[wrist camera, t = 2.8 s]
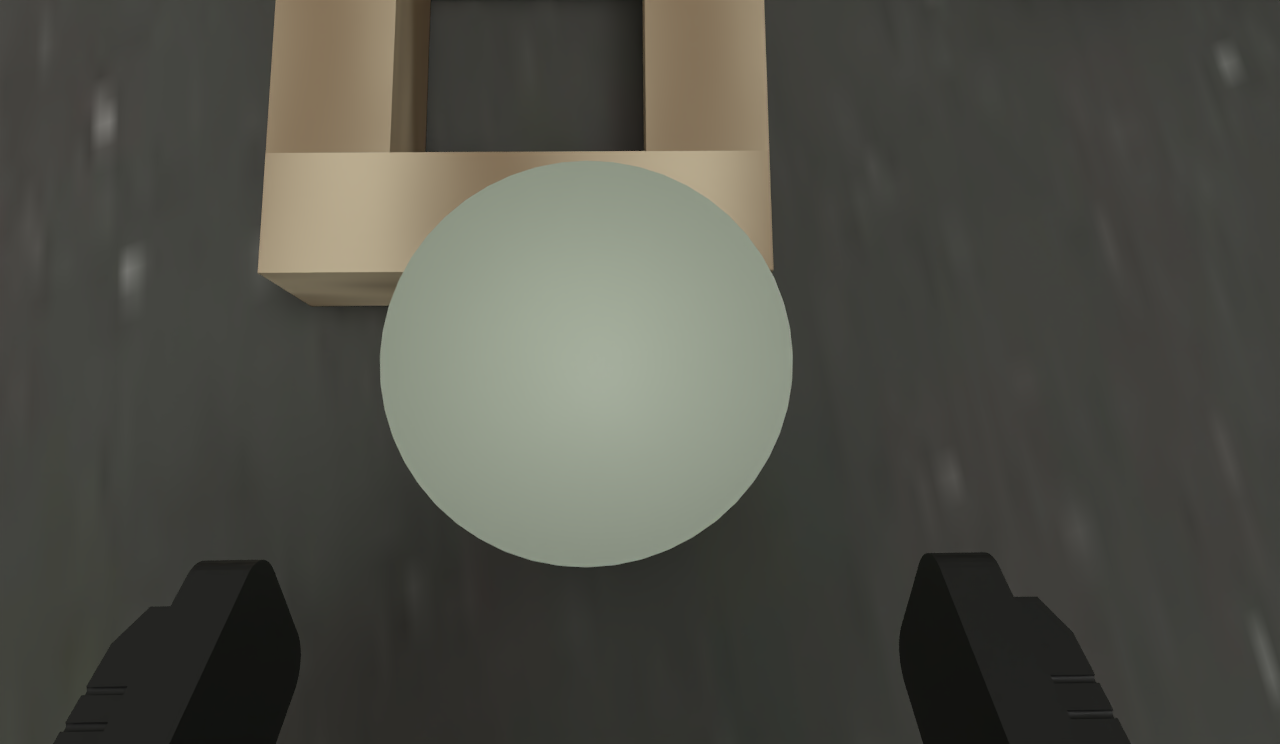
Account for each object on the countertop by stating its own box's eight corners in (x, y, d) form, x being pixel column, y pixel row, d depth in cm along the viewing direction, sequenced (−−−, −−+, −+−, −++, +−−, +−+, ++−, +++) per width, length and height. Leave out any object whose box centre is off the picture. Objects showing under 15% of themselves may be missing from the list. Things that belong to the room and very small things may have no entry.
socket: (741, -94, 23) (757, -184, 20) (753, 303, 21) (773, 269, 18) (333, -93, 23) (287, -183, 20) (311, 306, 21) (257, 272, 18)
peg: (698, 359, 21) (785, 159, 9) (702, 532, 20) (801, 565, 8) (527, 360, 21) (387, 161, 9) (525, 533, 20) (370, 568, 8)
